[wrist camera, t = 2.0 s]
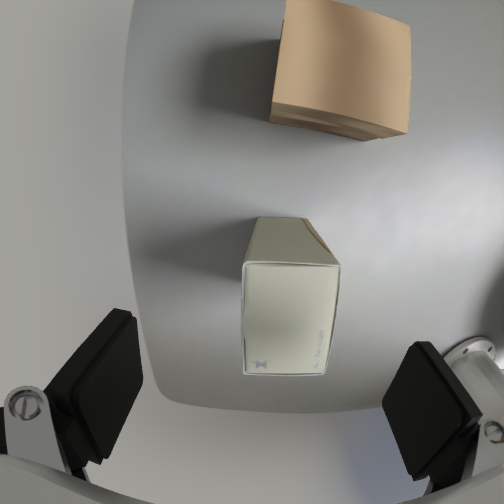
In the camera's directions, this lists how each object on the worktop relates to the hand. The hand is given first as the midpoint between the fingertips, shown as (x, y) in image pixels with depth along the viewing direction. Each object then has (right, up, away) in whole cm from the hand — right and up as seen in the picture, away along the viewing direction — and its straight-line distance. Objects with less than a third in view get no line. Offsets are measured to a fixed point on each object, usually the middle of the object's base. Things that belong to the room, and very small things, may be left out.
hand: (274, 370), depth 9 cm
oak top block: (+5, +16, +8) cm, 19 cm away
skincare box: (+2, +4, +16) cm, 16 cm away
